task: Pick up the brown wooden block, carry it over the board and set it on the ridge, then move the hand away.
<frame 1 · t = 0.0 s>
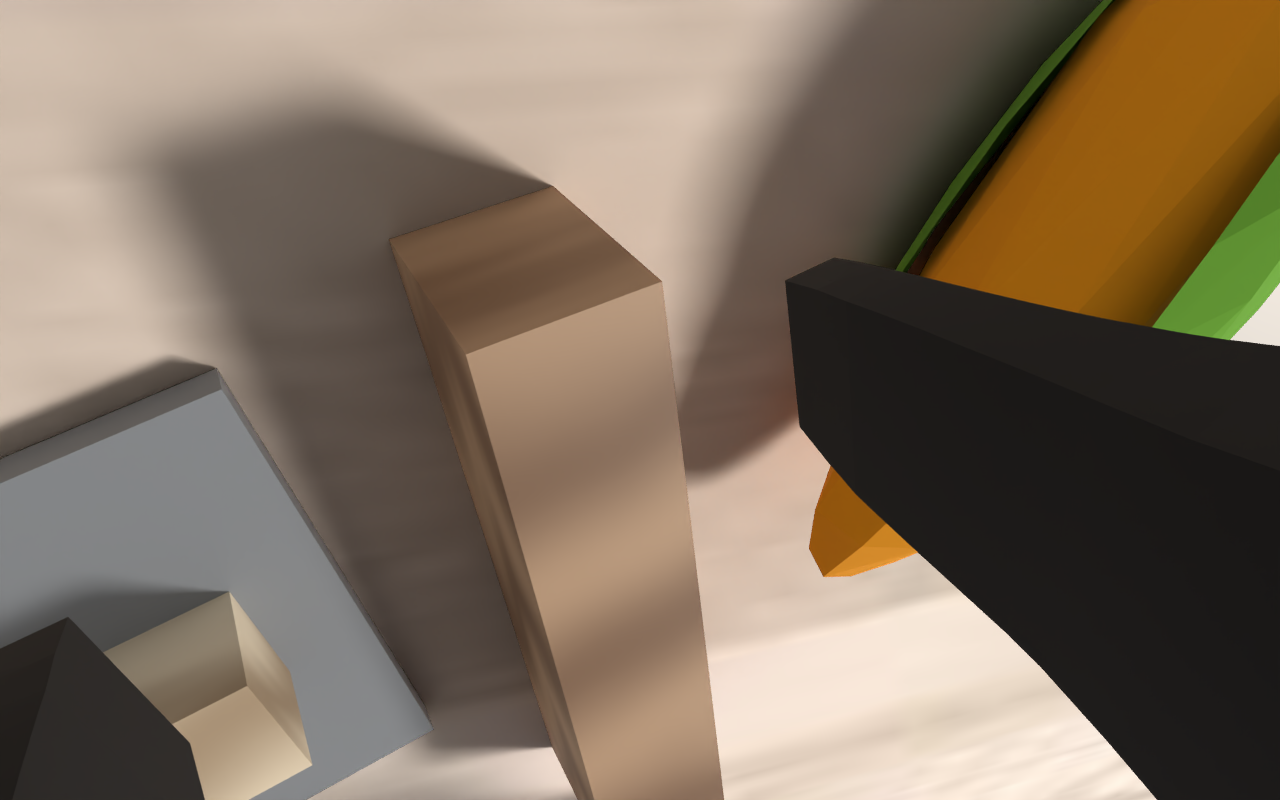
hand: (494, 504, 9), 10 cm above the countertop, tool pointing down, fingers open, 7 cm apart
corn: (971, 221, 26), on the countertop
brown wooden block: (548, 519, 24), on the countertop
ridge: (27, 721, 20), resting on board
board: (27, 721, 20), on the countertop
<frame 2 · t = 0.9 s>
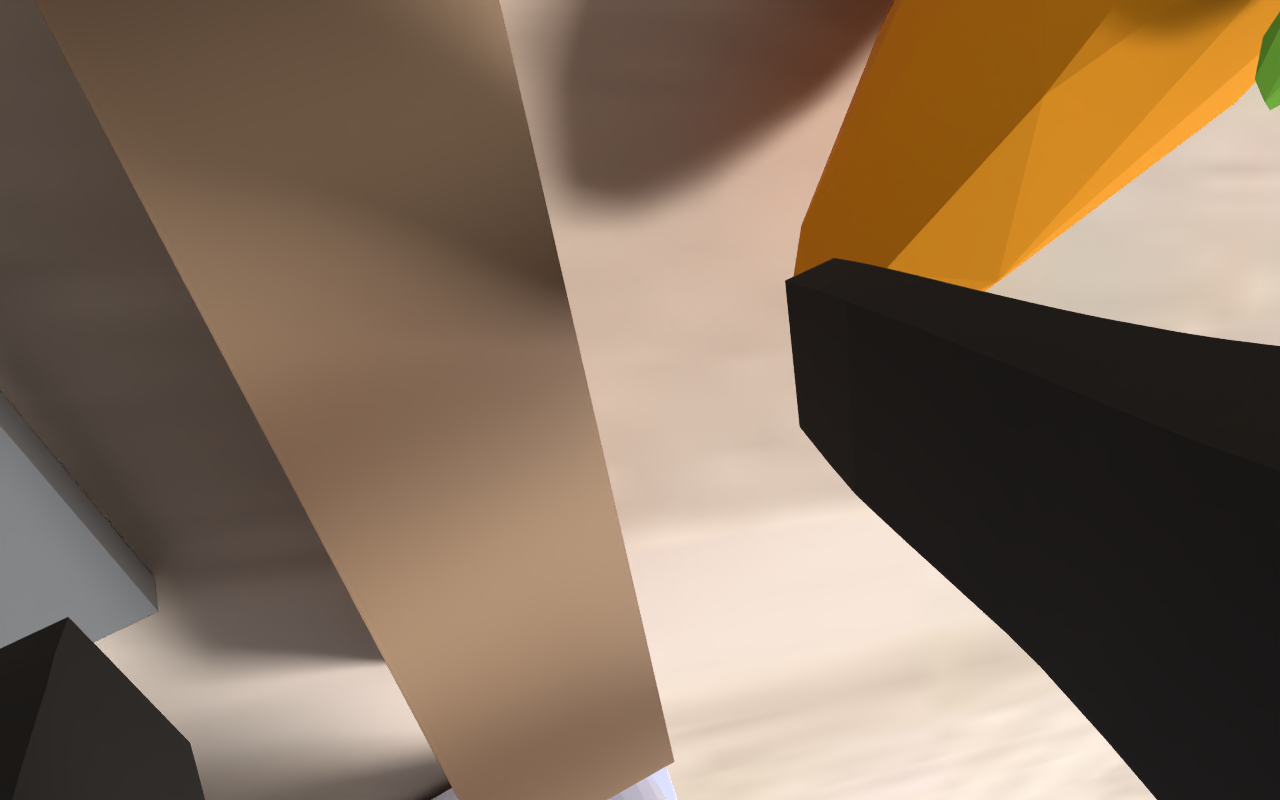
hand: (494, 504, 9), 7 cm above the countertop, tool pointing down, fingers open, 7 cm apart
brown wooden block: (346, 247, 14), on the countertop
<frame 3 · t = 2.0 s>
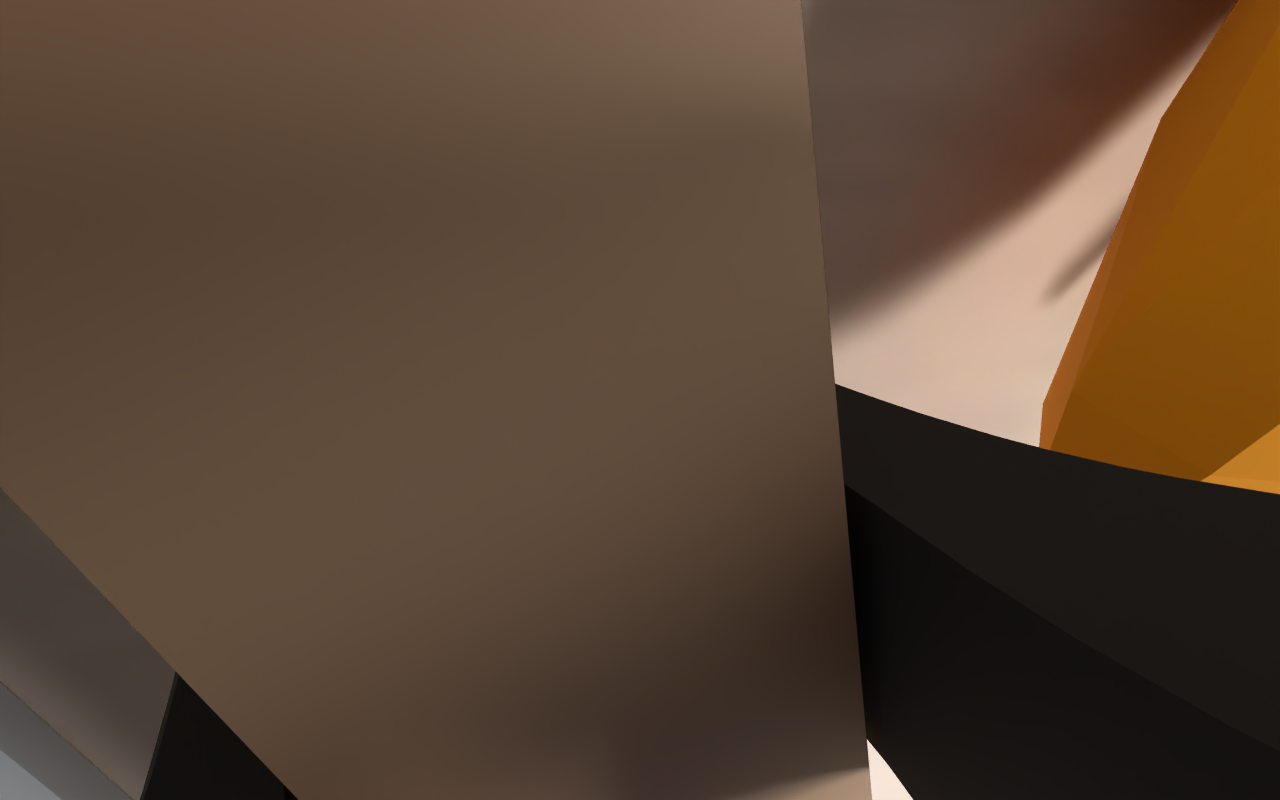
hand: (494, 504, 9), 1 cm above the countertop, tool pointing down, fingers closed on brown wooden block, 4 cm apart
brown wooden block: (446, 421, 10), on the countertop, touching gripper
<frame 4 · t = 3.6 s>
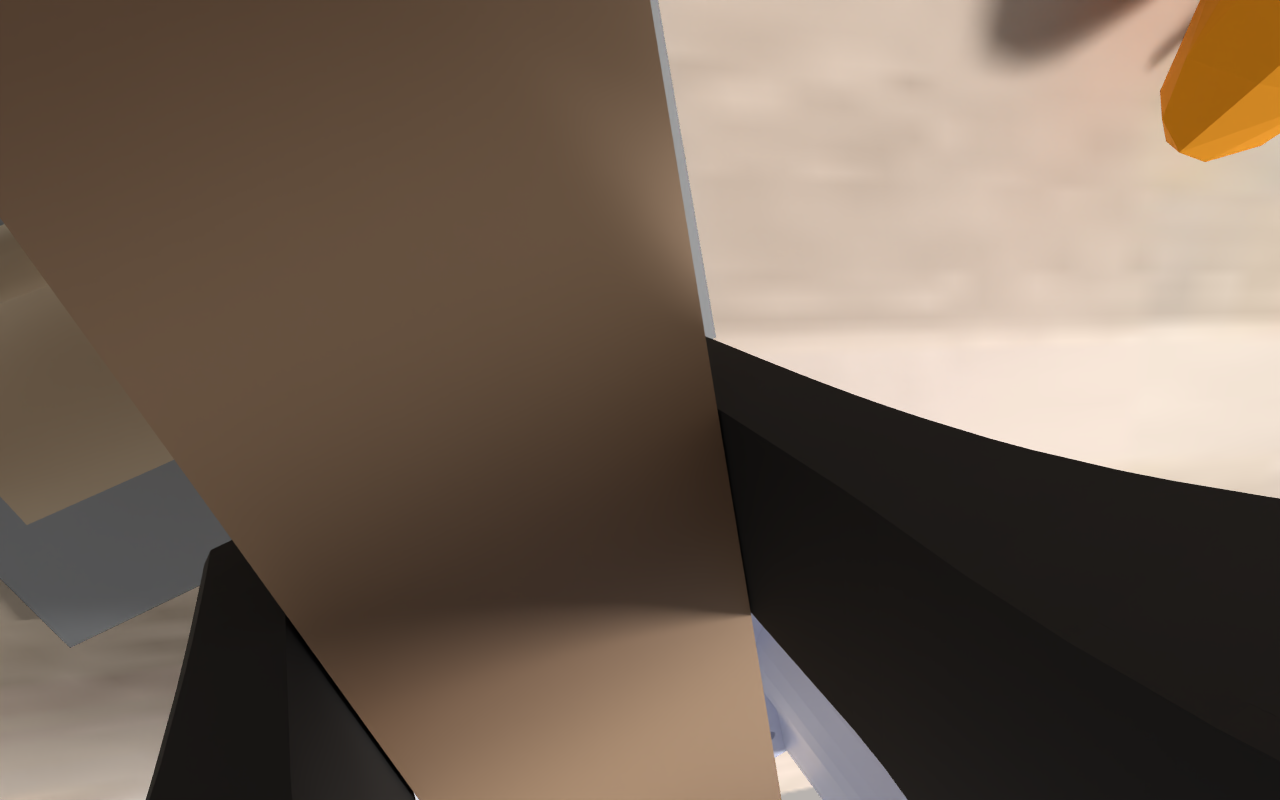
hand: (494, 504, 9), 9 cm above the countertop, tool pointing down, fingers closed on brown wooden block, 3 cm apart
brown wooden block: (399, 334, 11), point 6 cm above the countertop, touching gripper
ridge: (287, 202, 15), resting on board
board: (287, 202, 15), on the countertop
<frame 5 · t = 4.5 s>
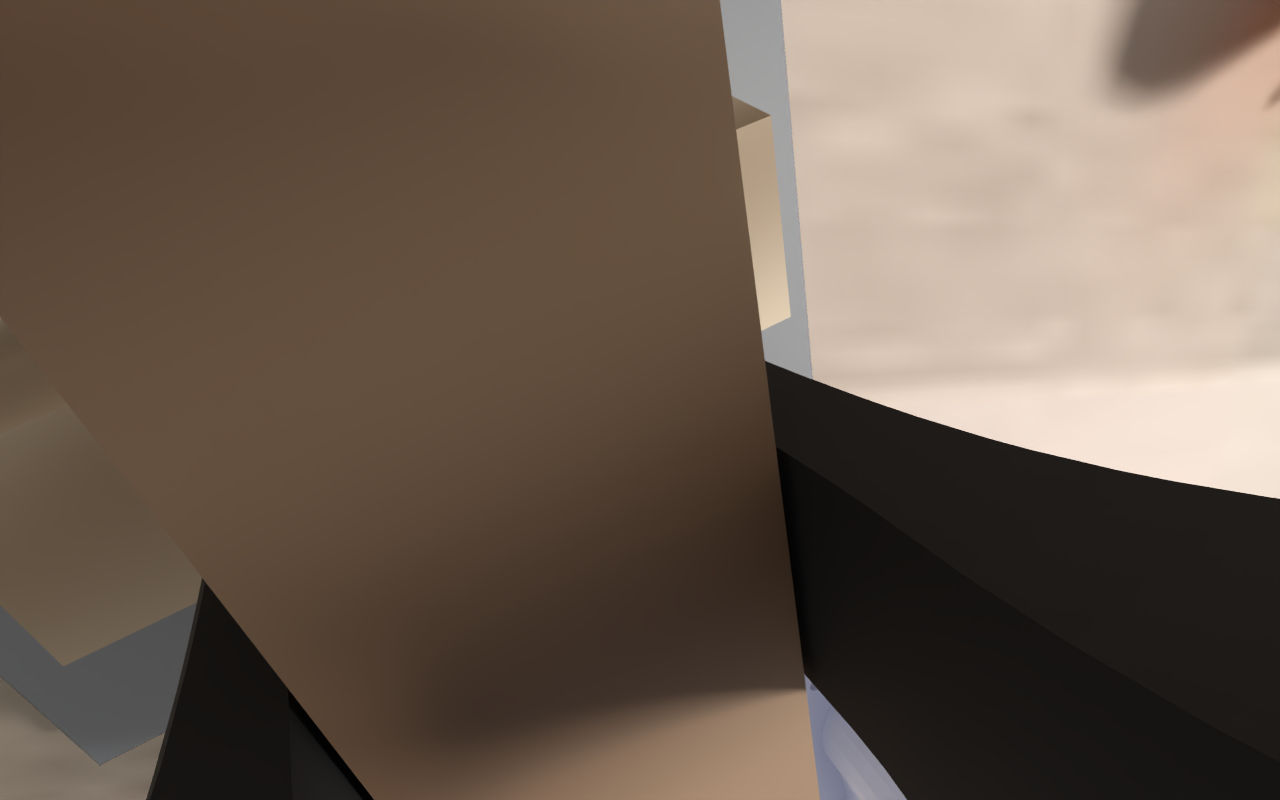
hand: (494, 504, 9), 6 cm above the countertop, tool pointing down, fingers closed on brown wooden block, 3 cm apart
brown wooden block: (418, 370, 11), point 3 cm above the countertop, touching gripper, ridge
ridge: (358, 264, 13), resting on board
board: (358, 264, 13), on the countertop
when the fingers open (6 cm above the countertop, at t = 5.0 s): brown wooden block stays where it is, resting on ridge.
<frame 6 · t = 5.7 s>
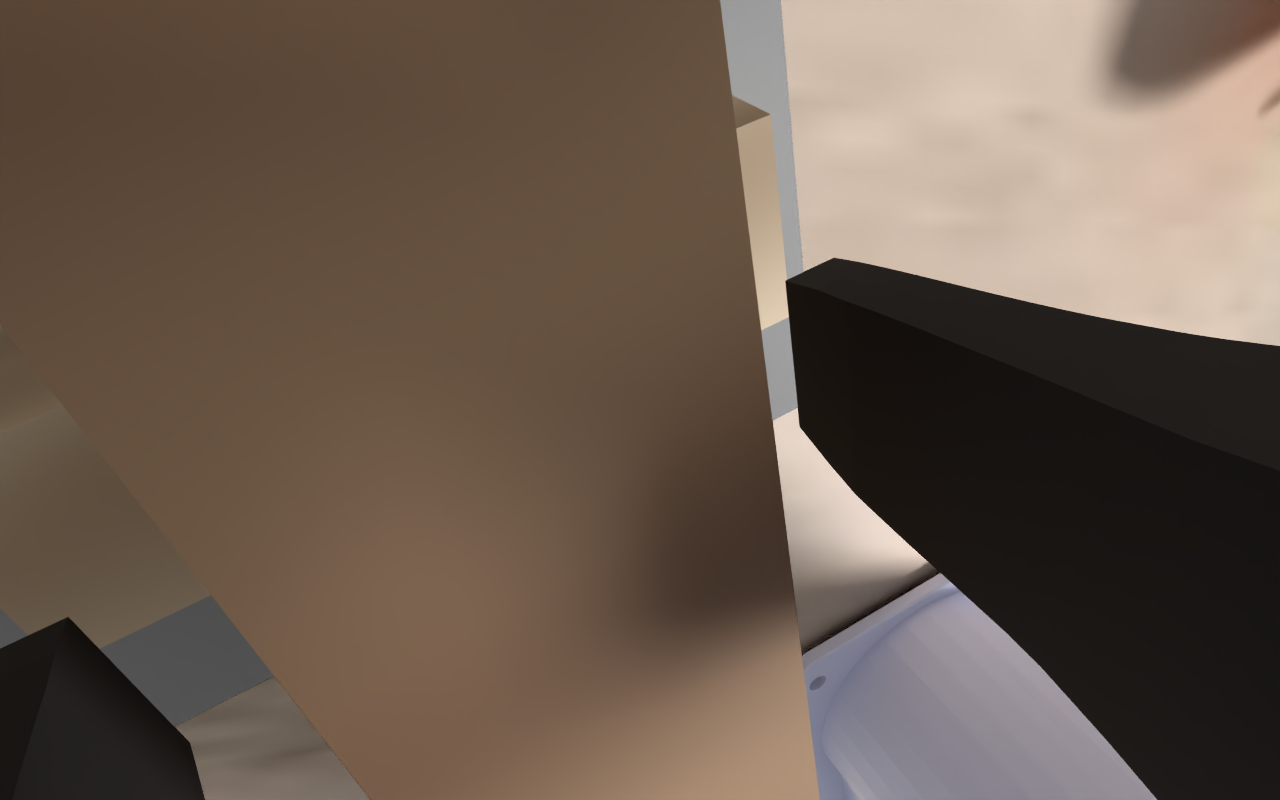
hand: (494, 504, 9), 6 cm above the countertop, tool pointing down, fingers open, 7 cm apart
brown wooden block: (417, 370, 11), point 3 cm above the countertop, touching ridge
ridge: (357, 264, 13), resting on board
board: (357, 264, 13), on the countertop
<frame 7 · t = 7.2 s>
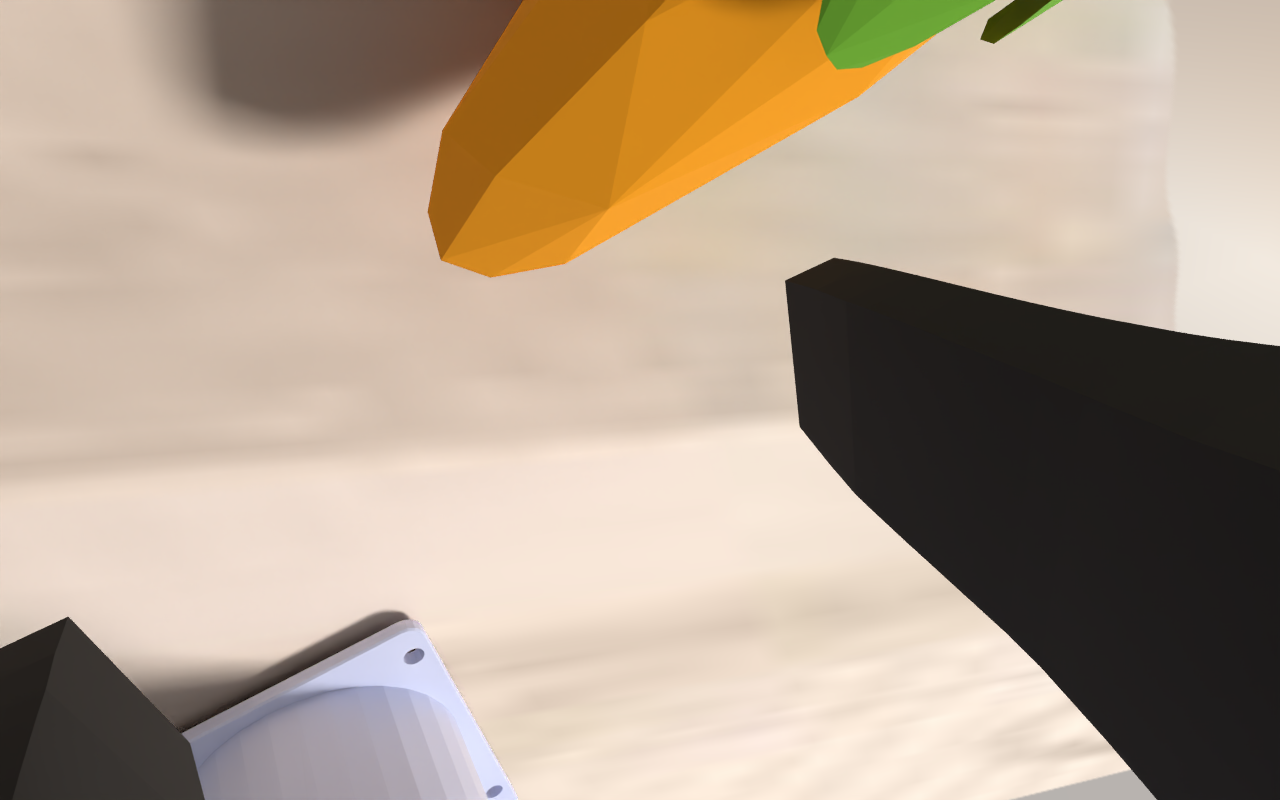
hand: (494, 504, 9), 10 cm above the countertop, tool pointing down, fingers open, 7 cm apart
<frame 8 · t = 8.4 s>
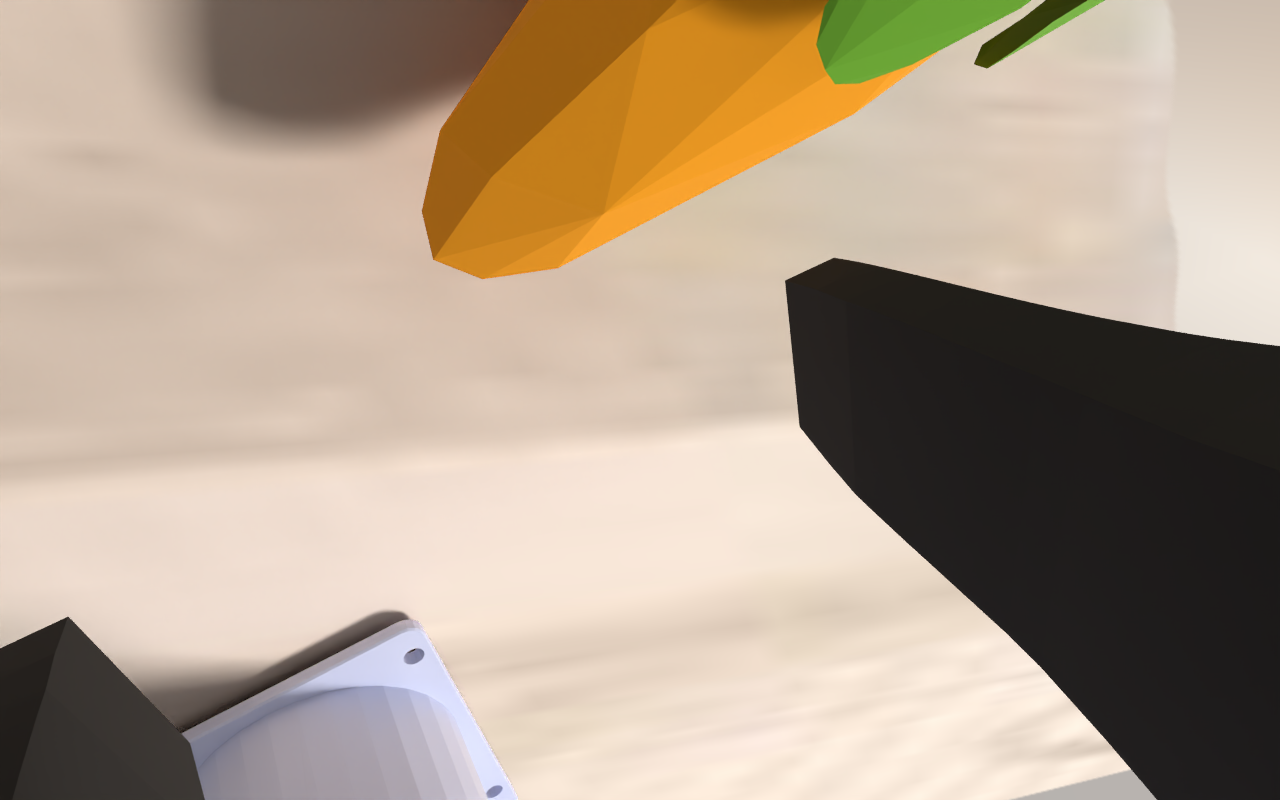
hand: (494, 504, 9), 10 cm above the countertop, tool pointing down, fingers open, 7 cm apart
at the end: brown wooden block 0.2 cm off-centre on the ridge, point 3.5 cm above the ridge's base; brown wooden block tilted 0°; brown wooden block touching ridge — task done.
